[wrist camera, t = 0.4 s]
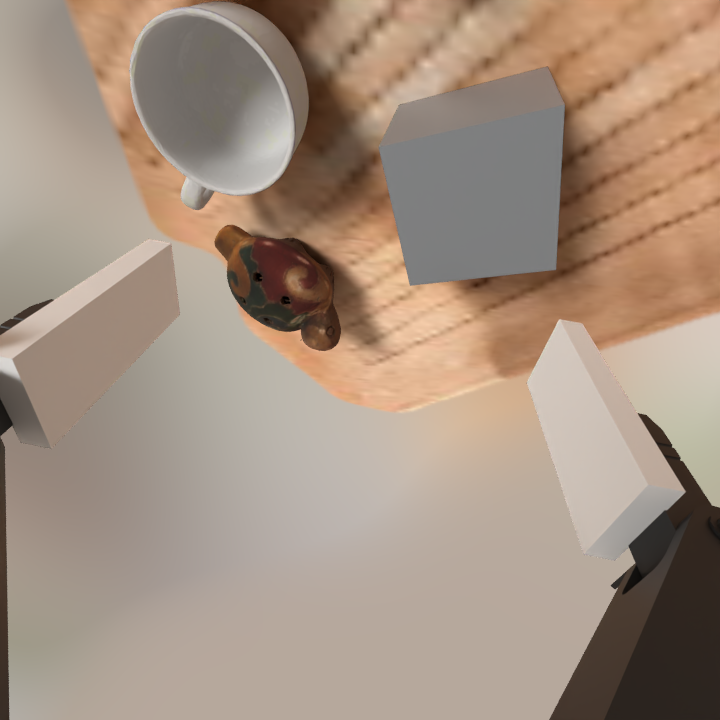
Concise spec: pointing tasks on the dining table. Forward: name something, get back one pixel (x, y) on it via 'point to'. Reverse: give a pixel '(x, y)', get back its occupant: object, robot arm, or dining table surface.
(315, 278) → the decorative turtle
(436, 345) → the dining table surface
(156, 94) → the teacup
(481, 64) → the dining table surface
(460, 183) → the matte grey cube
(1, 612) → the robot arm
